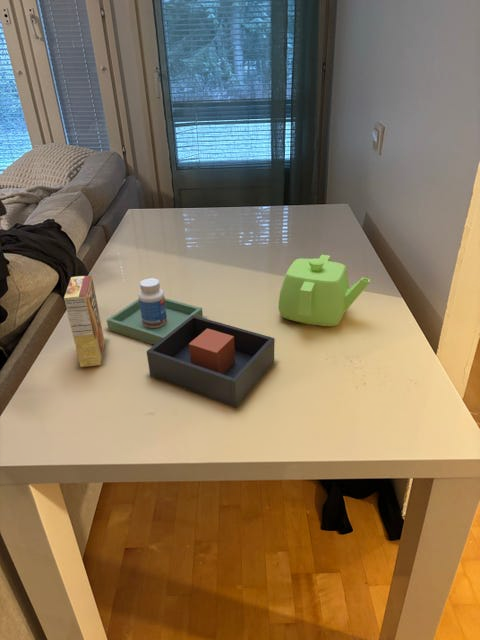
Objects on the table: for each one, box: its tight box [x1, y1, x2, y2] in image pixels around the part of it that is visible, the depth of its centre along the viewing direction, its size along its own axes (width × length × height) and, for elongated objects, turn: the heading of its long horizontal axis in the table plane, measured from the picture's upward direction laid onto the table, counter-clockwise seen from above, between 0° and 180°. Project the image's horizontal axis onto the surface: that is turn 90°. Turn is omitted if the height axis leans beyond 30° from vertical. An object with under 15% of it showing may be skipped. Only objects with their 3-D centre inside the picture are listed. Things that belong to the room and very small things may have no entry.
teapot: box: [278, 254, 371, 327], centre depth 101 cm, size 18×20×13 cm
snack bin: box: [146, 315, 276, 408], centre depth 87 cm, size 19×15×6 cm
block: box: [189, 328, 235, 374], centre depth 86 cm, size 6×6×6 cm
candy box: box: [63, 275, 106, 368], centre depth 89 cm, size 9×4×15 cm, turn 10°
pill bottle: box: [137, 277, 167, 328], centre depth 100 cm, size 6×5×10 cm
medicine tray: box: [106, 297, 204, 346], centre depth 102 cm, size 16×14×3 cm
